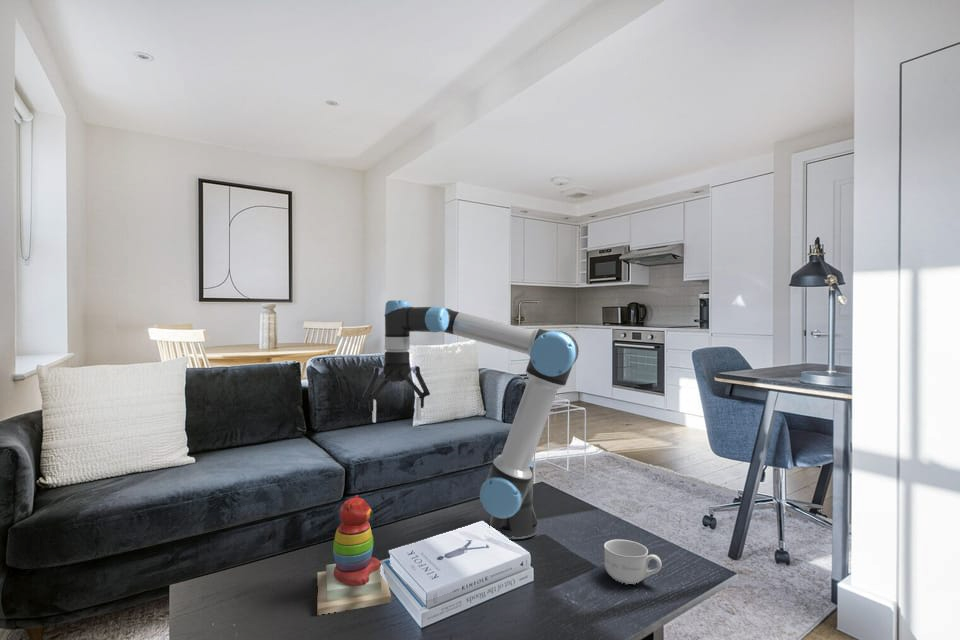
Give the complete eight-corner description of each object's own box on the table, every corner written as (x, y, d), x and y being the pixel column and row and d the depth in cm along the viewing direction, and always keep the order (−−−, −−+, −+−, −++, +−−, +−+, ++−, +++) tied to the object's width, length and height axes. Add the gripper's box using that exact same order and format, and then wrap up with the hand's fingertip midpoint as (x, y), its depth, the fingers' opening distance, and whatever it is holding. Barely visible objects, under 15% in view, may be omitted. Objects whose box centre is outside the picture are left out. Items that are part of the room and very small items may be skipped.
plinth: (382, 568, 124) (382, 552, 124) (391, 602, 109) (391, 585, 109) (317, 578, 119) (317, 562, 119) (317, 615, 103) (317, 597, 104)
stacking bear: (364, 587, 108) (365, 509, 108) (323, 582, 110) (324, 505, 110) (383, 564, 118) (384, 492, 118) (346, 559, 120) (346, 489, 120)
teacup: (596, 578, 120) (596, 546, 120) (616, 563, 128) (616, 533, 128) (649, 600, 111) (650, 566, 111) (667, 582, 119) (668, 550, 119)
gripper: (433, 349, 153) (433, 415, 153) (354, 350, 144) (353, 420, 144) (439, 351, 146) (439, 419, 146) (356, 352, 137) (355, 425, 137)
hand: (396, 420), depth 145 cm, fingers open, 13 cm apart
